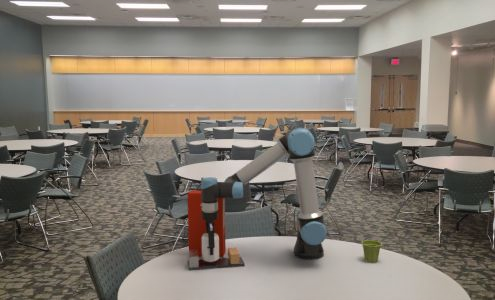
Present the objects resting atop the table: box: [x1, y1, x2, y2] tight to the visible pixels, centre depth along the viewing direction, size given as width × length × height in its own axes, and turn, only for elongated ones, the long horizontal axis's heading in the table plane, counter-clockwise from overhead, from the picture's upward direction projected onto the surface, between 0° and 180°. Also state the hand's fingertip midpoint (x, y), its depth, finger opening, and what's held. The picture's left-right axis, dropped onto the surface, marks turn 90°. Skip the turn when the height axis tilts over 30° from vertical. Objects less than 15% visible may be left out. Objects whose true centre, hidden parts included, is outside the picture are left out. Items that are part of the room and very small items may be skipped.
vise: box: [187, 249, 246, 271], centre depth 220 cm, size 26×10×6 cm, turn 100°
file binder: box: [187, 190, 227, 258], centre depth 233 cm, size 8×17×32 cm, turn 84°
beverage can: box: [201, 233, 220, 262], centre depth 219 cm, size 8×8×12 cm
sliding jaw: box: [227, 246, 240, 264], centre depth 222 cm, size 4×10×5 cm, turn 10°
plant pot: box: [361, 239, 383, 263], centre depth 224 cm, size 9×9×9 cm
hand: (210, 258), depth 220 cm, fingers closed on beverage can, 8 cm apart
